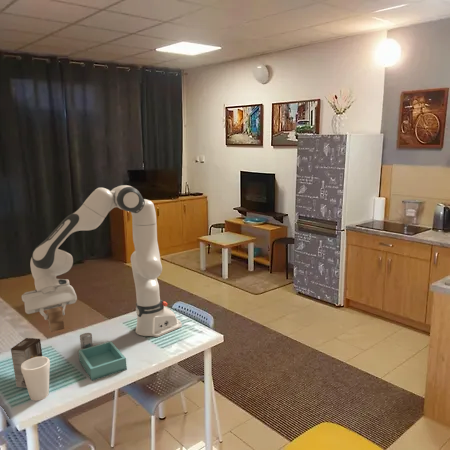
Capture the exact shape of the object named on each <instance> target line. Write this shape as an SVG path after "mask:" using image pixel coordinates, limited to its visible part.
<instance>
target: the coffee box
mask: <svg viewBox="0 0 450 450" xmlns="http://www.w3.org/2000/svg"><path fill="white" fill-rule="evenodd" d="M10 352H11V359H12V366H13V371H14V378H15V386H16V387H17V388H23V389H27V386H26V383H25V380H24V377H23V374H22V372H21V365H22V363H23V362H25V361H26V360H28V359H30V358H34V357H40V356H43V350H42V343H41V338H30V337H25V338H24V339H22V340H21V341H19V343H16V345H14V346H13V347H11V348H10Z"/></svg>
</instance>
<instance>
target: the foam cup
mask: <svg viewBox="0 0 450 450" xmlns="http://www.w3.org/2000/svg"><path fill="white" fill-rule="evenodd" d="M50 369H51V361H50V358H49V357H46V356H43V355H42V356H40V357H34V358H30V359H28V360H26V361H25V362H23V363H22V365H21V372H22V374H23V377H24V380H25V383H26V386H27V388H26V389H27V392H28V395H29V399H30V400H31V401H36V402H37V401H42V400H44V399H46V398H47V397H48V396H49V393H50Z"/></svg>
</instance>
